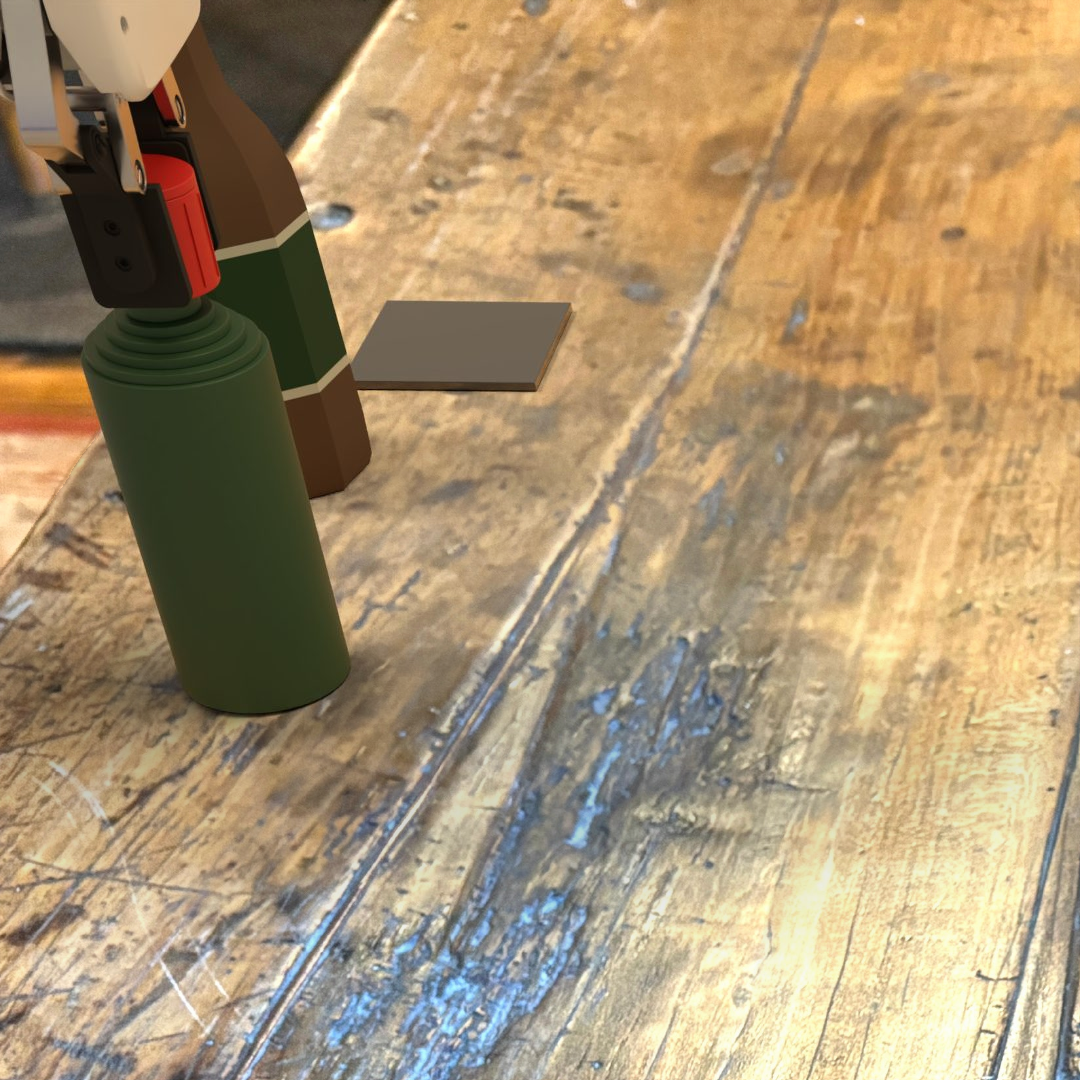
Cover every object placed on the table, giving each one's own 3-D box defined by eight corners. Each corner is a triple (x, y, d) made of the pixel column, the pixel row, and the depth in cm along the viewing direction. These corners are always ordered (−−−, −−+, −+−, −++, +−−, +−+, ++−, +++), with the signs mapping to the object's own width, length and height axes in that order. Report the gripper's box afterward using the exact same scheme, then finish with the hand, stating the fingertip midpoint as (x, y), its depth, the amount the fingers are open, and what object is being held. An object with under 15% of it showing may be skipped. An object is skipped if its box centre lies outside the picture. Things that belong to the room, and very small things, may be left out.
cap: (226, 298, 90) (199, 189, 87) (107, 309, 88) (76, 198, 86) (215, 256, 92) (188, 149, 89) (99, 265, 91) (68, 157, 88)
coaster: (342, 389, 119) (340, 380, 118) (388, 308, 125) (386, 300, 125) (536, 391, 119) (534, 382, 119) (572, 310, 125) (571, 302, 125)
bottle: (160, 711, 99) (8, 239, 86) (206, 627, 103) (69, 167, 90) (329, 716, 99) (203, 249, 86) (368, 633, 104) (254, 177, 91)
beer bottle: (291, 413, 117) (115, -180, 100) (413, 457, 114) (254, -144, 97) (155, 479, 112) (-55, -132, 95) (279, 526, 110) (87, -92, 92)
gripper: (27, -258, 71) (222, 379, 85) (161, -395, 83) (314, 185, 96) (-254, -261, 71) (-13, 382, 84) (-80, -399, 82) (108, 186, 95)
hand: (160, 271), depth 90 cm, fingers closed on cap, 3 cm apart
